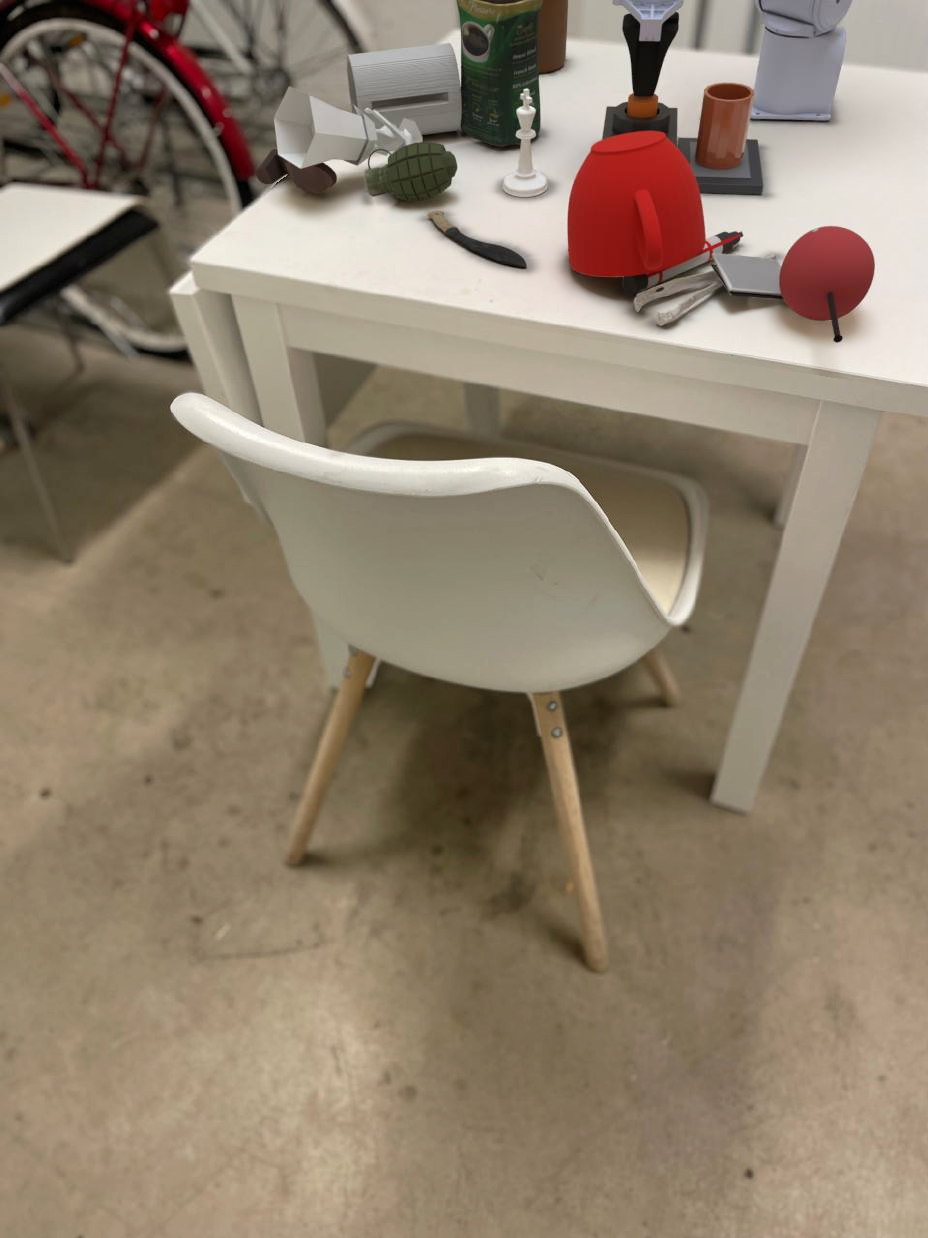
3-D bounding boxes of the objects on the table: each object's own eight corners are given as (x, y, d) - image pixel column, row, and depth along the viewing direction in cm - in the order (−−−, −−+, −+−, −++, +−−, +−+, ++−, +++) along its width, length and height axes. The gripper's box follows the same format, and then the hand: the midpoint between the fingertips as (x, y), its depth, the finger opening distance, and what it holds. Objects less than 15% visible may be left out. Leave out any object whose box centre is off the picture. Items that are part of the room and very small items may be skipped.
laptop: (717, 242, 87) (707, 260, 88) (737, 282, 84) (727, 301, 86) (783, 249, 89) (772, 266, 91) (805, 288, 86) (794, 306, 88)
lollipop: (770, 362, 78) (762, 279, 88) (856, 391, 78) (839, 305, 88) (818, 278, 72) (804, 200, 83) (911, 309, 73) (885, 228, 83)
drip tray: (756, 147, 109) (758, 138, 109) (761, 194, 102) (763, 184, 101) (677, 145, 111) (678, 135, 110) (676, 191, 103) (677, 181, 102)
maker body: (672, 145, 111) (679, 90, 106) (671, 191, 103) (679, 133, 98) (603, 143, 112) (607, 88, 107) (597, 189, 104) (601, 132, 99)
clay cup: (741, 150, 107) (753, 82, 101) (743, 170, 103) (755, 101, 98) (694, 148, 107) (703, 81, 102) (694, 168, 104) (704, 100, 99)
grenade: (458, 134, 104) (373, 156, 107) (444, 120, 98) (353, 143, 100) (469, 196, 106) (384, 216, 108) (455, 186, 99) (366, 207, 101)
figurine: (271, 94, 100) (401, 120, 112) (279, 176, 102) (406, 193, 114) (310, 74, 95) (441, 104, 107) (317, 161, 97) (446, 181, 109)
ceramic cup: (730, 148, 76) (732, 272, 82) (684, 112, 90) (689, 221, 96) (570, 181, 77) (584, 301, 83) (549, 141, 91) (562, 246, 97)
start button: (656, 108, 104) (658, 91, 103) (656, 120, 102) (658, 102, 101) (627, 108, 104) (628, 90, 103) (626, 119, 102) (627, 102, 101)
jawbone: (665, 330, 85) (670, 309, 83) (628, 308, 87) (632, 287, 86) (791, 278, 92) (797, 258, 91) (753, 259, 95) (759, 239, 93)
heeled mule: (319, 157, 101) (339, 139, 102) (244, 154, 106) (264, 138, 108) (333, 197, 104) (352, 179, 106) (259, 193, 109) (279, 176, 111)
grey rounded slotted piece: (349, 106, 117) (444, 94, 119) (362, 159, 114) (460, 146, 115) (344, 36, 109) (446, 24, 110) (358, 91, 106) (462, 78, 107)
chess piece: (516, 200, 103) (517, 102, 95) (495, 183, 106) (493, 86, 98) (555, 190, 104) (559, 91, 97) (533, 173, 107) (535, 77, 100)
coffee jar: (551, 135, 114) (557, -49, 100) (503, 155, 111) (503, -33, 97) (497, 113, 119) (495, -65, 105) (449, 132, 116) (441, -50, 102)
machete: (536, 266, 94) (536, 259, 93) (513, 276, 92) (513, 269, 92) (440, 213, 101) (440, 206, 101) (417, 221, 100) (417, 214, 100)
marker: (639, 281, 87) (624, 269, 88) (634, 298, 89) (620, 286, 90) (753, 230, 93) (739, 219, 94) (747, 247, 95) (733, 236, 95)
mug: (506, 87, 125) (505, 4, 118) (472, 71, 129) (470, -10, 122) (577, 65, 129) (580, -16, 122) (542, 50, 133) (544, -29, 126)
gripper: (620, -78, 97) (609, 68, 107) (613, -37, 87) (602, 119, 97) (690, -78, 96) (673, 69, 106) (691, -37, 86) (671, 121, 96)
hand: (643, 93), depth 102 cm, fingers closed
